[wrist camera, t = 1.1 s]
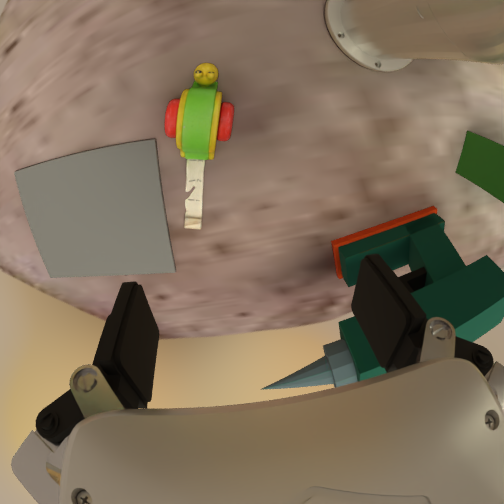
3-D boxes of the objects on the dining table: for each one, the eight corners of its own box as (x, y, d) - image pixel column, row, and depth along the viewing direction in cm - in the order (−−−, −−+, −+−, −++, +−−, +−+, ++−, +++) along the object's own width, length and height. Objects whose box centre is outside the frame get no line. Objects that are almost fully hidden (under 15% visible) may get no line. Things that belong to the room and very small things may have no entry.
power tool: (254, 304, 42) (273, 425, 26) (239, 271, 38) (254, 405, 22) (431, 241, 39) (501, 322, 23) (433, 205, 35) (519, 285, 19)
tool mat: (16, 170, 25) (14, 172, 25) (156, 138, 27) (154, 139, 27) (52, 275, 35) (50, 277, 35) (176, 269, 37) (175, 272, 36)
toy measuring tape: (239, 68, 24) (243, 61, 18) (217, 226, 34) (217, 256, 29) (179, 64, 23) (168, 56, 17) (167, 223, 33) (157, 251, 28)
